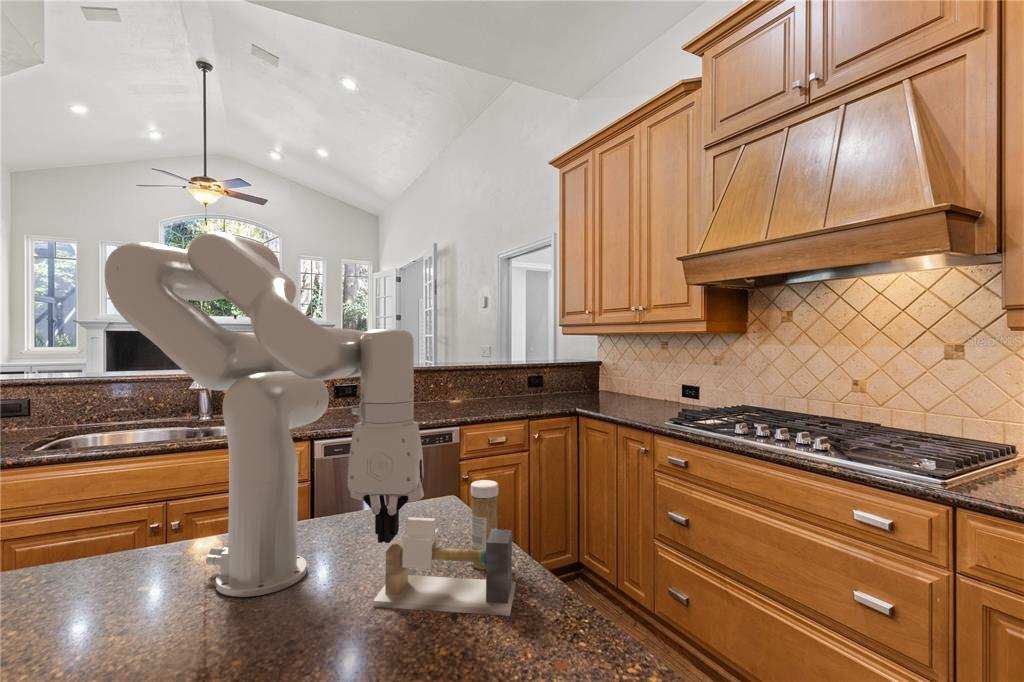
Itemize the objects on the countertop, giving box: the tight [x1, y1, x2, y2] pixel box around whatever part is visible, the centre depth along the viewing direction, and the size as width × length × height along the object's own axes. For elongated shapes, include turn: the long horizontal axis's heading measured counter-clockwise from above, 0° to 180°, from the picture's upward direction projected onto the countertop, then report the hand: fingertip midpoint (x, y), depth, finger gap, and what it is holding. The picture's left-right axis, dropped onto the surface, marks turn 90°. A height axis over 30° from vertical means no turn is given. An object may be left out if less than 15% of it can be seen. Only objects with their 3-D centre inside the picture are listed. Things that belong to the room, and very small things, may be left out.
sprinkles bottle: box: [470, 479, 499, 570], centre depth 81 cm, size 5×5×14 cm
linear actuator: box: [372, 528, 517, 617], centre depth 71 cm, size 19×8×9 cm, turn 84°
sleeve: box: [402, 516, 439, 570], centre depth 71 cm, size 4×4×6 cm
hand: (387, 539), depth 72 cm, fingers closed
